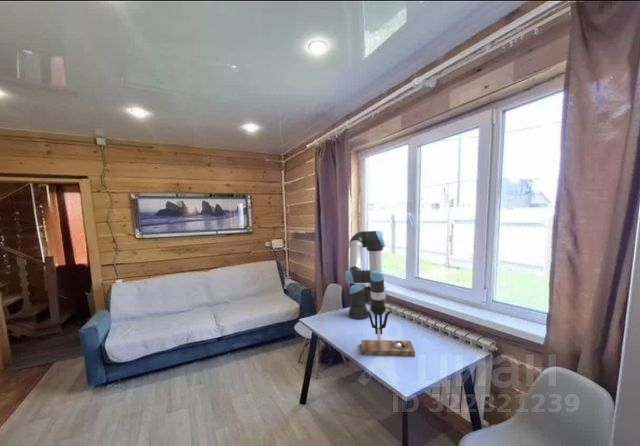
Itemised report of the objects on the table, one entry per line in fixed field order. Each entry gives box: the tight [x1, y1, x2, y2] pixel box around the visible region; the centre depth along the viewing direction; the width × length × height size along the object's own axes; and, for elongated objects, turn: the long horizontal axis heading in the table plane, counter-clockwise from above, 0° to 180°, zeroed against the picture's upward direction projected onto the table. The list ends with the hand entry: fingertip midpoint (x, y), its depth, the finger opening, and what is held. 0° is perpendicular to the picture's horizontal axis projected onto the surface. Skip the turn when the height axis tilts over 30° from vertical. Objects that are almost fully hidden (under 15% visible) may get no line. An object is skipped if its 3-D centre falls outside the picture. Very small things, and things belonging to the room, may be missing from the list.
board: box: [360, 339, 416, 357], centre depth 149 cm, size 28×12×2 cm, turn 83°
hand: (379, 339), depth 150 cm, fingers closed
